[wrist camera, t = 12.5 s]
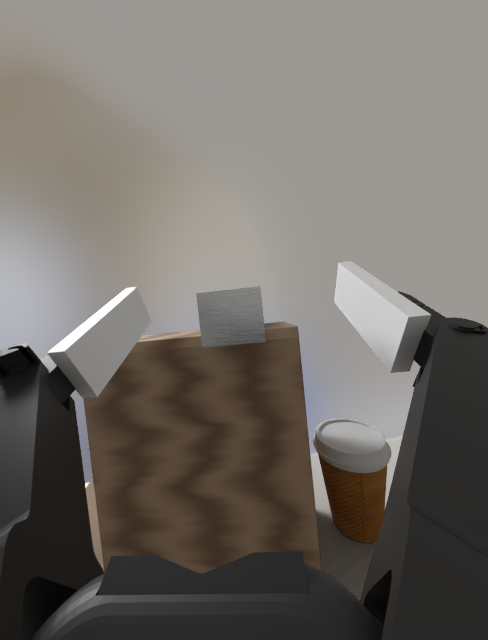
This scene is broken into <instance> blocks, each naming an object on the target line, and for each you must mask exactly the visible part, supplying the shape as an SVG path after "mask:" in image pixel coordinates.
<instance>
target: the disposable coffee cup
mask: <svg viewBox="0 0 488 640" xmlns="http://www.w3.org/2000/svg"><path fill="white" fill-rule="evenodd" d="M313 444H314V446H315V448H316V451H317V452H318V455H319V460H320V464H321V468H322V473H323V477H324V482H325V486H326V491H327V495H328V500H329V504H330V508H331V513H332V518H333V521H334V523H335V524H336V526H337V527H338V528H339V530H340V531H341V532H342V533H344V534H345V535H346V536H348V537H349V538H351V539H353V540H355V541H359V542H363V543H371V542H375V541H377V540H378V538H379V534H380V530H381V526H382V522H383V518H384V507H385V491H386V476H387V464H388V462H389V460H390V458H391V449H390V446H389V445H388V443H387V442H386V440H385V437H384V435H383V434H382V433H381V432H380V431H379V430H378V429H376V428H375V427H373V426H371V425H369V424H367V423H365V422H362V421H358V420H354V419H346V418H336V419H329V420H326V421H323V422H322V423H320V424H319V425H318V426H317V428H316V431H315V434H314V436H313Z"/></svg>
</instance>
